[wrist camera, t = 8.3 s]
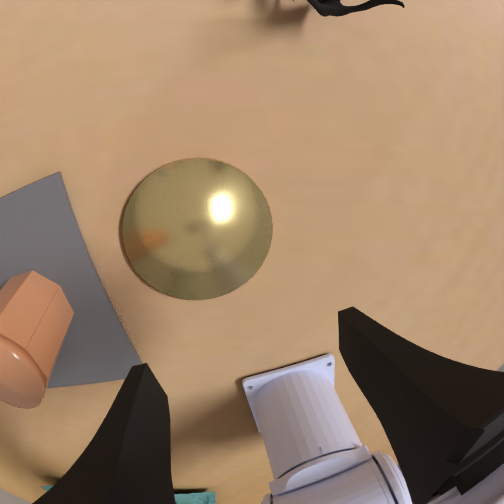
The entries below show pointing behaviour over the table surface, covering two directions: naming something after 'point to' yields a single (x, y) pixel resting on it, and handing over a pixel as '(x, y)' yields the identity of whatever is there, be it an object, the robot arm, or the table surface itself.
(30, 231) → the charcoal mat
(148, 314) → the table surface
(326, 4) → the creature
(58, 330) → the octagonal domed knob
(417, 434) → the robot arm
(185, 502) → the terrain model
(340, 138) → the table surface
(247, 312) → the table surface
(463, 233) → the table surface
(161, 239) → the brass token
